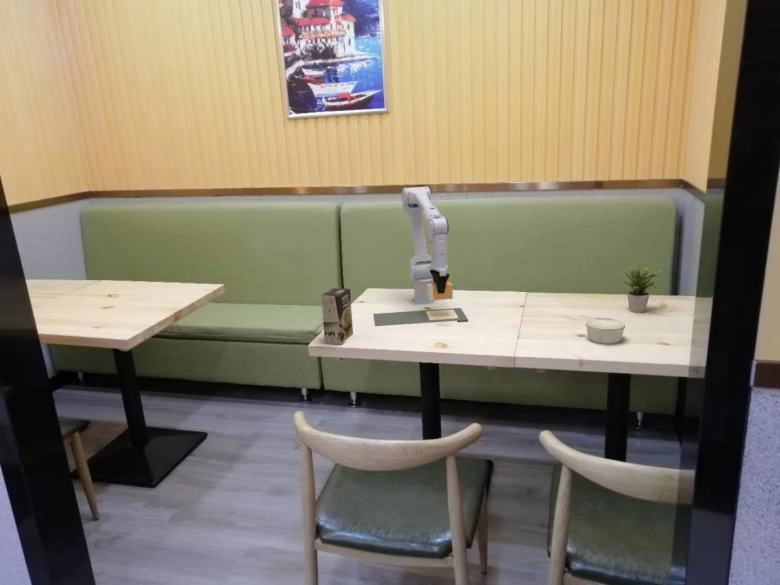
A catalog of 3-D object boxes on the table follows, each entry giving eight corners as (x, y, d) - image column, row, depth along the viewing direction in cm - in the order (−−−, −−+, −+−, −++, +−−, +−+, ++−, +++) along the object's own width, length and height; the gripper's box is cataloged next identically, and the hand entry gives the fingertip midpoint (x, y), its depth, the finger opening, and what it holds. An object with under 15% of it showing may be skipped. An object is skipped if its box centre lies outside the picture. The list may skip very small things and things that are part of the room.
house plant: (657, 320, 192) (661, 271, 188) (613, 315, 199) (616, 268, 195) (662, 308, 204) (666, 262, 200) (620, 303, 211) (623, 259, 206)
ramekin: (621, 333, 182) (622, 317, 181) (626, 346, 172) (627, 329, 170) (583, 332, 185) (584, 316, 183) (586, 345, 174) (587, 328, 173)
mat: (373, 315, 212) (373, 313, 212) (460, 309, 214) (460, 307, 213) (375, 327, 198) (375, 326, 198) (468, 321, 200) (468, 319, 200)
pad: (425, 311, 211) (425, 311, 211) (453, 310, 211) (453, 309, 211) (429, 320, 201) (429, 319, 201) (458, 318, 202) (458, 318, 202)
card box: (450, 295, 207) (449, 281, 206) (452, 298, 203) (452, 284, 201) (427, 296, 206) (427, 283, 205) (429, 300, 202) (429, 286, 201)
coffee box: (342, 345, 184) (338, 296, 180) (324, 343, 186) (320, 294, 182) (354, 335, 192) (350, 288, 188) (336, 334, 194) (332, 287, 190)
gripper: (423, 249, 207) (425, 286, 210) (430, 258, 193) (432, 297, 197) (443, 248, 207) (444, 285, 211) (451, 256, 194) (452, 296, 197)
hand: (439, 291), depth 204 cm, fingers closed on card box, 5 cm apart
